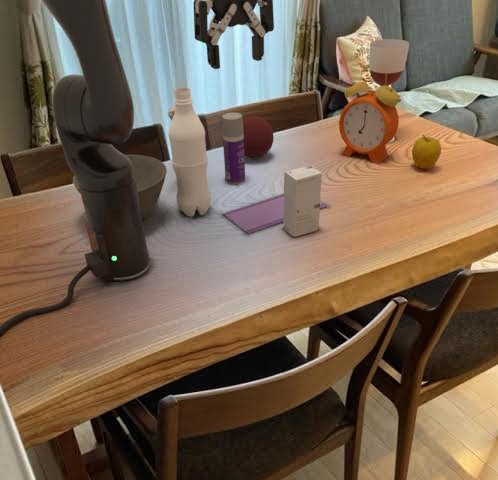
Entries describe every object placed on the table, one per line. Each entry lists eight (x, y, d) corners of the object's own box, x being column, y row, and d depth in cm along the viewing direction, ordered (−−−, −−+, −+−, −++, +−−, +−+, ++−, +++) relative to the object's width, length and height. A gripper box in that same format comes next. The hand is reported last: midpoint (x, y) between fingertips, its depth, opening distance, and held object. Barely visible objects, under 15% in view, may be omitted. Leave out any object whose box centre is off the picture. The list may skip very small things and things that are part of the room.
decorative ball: (232, 151, 141) (229, 112, 134) (269, 147, 142) (269, 108, 136) (237, 166, 133) (235, 126, 127) (277, 162, 134) (277, 122, 128)
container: (243, 185, 125) (240, 119, 116) (223, 183, 126) (219, 119, 116) (247, 176, 129) (244, 112, 119) (228, 175, 129) (224, 111, 120)
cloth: (247, 234, 108) (247, 232, 107) (222, 214, 114) (222, 213, 114) (326, 206, 116) (326, 205, 115) (298, 190, 122) (299, 188, 122)
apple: (404, 164, 131) (409, 132, 126) (428, 161, 132) (434, 128, 127) (417, 175, 126) (423, 141, 121) (442, 171, 127) (449, 138, 122)
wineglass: (401, 134, 146) (414, 40, 132) (387, 146, 140) (400, 50, 125) (369, 128, 150) (379, 37, 136) (354, 140, 144) (363, 46, 129)
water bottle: (194, 200, 120) (182, 81, 104) (218, 209, 116) (209, 87, 100) (171, 212, 116) (154, 91, 100) (195, 222, 112) (182, 98, 96)
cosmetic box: (293, 238, 106) (295, 180, 98) (282, 228, 109) (282, 171, 101) (320, 230, 108) (323, 172, 100) (307, 220, 111) (310, 164, 103)
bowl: (89, 200, 122) (79, 157, 115) (173, 194, 122) (167, 151, 116) (76, 243, 107) (64, 197, 101) (171, 235, 108) (165, 189, 102)
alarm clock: (335, 153, 137) (341, 70, 125) (347, 146, 141) (354, 64, 128) (383, 165, 131) (394, 78, 118) (394, 156, 135) (406, 71, 122)
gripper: (257, -53, 89) (259, 53, 100) (180, -46, 84) (190, 66, 94) (283, -50, 84) (282, 61, 95) (203, -42, 79) (211, 75, 89)
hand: (236, 64), depth 94 cm, fingers open, 8 cm apart
